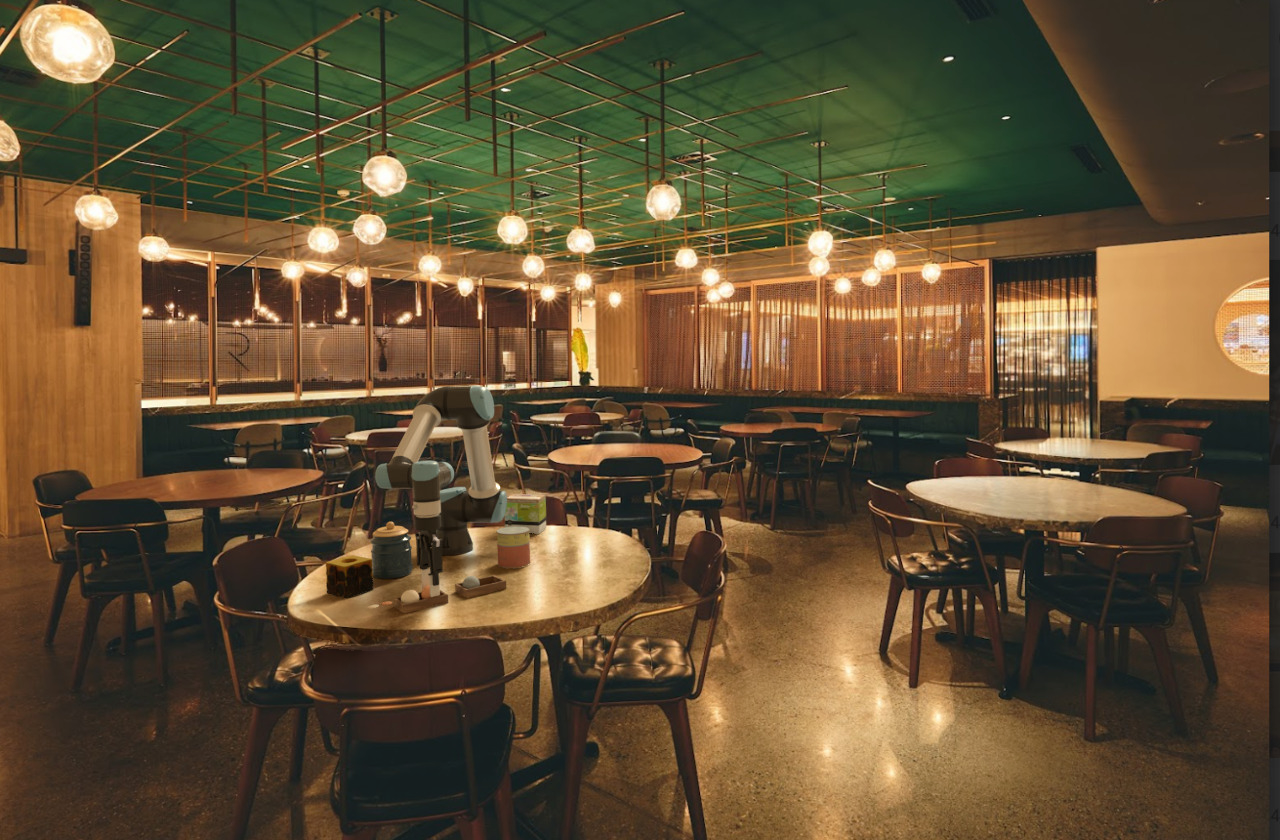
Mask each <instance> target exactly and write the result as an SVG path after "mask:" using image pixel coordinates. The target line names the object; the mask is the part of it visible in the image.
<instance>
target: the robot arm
mask: <svg viewBox="0 0 1280 840" xmlns="http://www.w3.org/2000/svg"><path fill="white" fill-rule="evenodd" d="M494 416H495V402H494V399H493V395H492V392H491V391H490V390H489V389H488V388H487V387H486V386H480V385H479V386H478V385H471V386H469V385H468V386H463V385H462V386H459V385H458V386H441V387H438V388H435V389H433V390H431V391H429V392H428V393H427V394H425V396H423V397H422V398H421V399H420V400H419V401H418V403H417V404H416V405H415V406H414V408H413V411H412V419H411V421H410V423H409V425H408V426H407V429H406V431H405V432H404V435H403V437H402V439H401V440H400V442H399V445H398V446H397V448H396V450H395V452H394V453H393V456H391V457H392V458H391V459H390V461H389V463H381V464H379V465H378V466H377V467H376V470H375V474H374V475H375V476H374V478H375V482H376V485H377V486H378V488H380V489H389V490H390V489H391V490H399V489H400V490H401V489H402V490H404V489H405V490H406V489H410V490H411V489H412V498H413V499H412V500H413V501H412V502H413V505H412V506H411V508H412V509H413V515H414V517H413V525H414V527H413V528H414V529H415V530H417V531H419V532H415V533H414V535H415V541H416V542H415V544H416V545H415V546H416V547H415V548H416V566H417V567H419V569H420V579H421V580H420V583H421V591H422V590H423V589H424V588H425V587H426V586H428V585H430V597H434V596H438V595H440V590H441V589H440V574H441V573H443V572H444V567H443V565H444V564H443V556H453V555H454V556H455V555H461V554H465V553H466V554H467V553H468V552H470V551H472V550H473V549H474V542H473V540H472V537H471V535H470V531H469V529H468V523H472V524H473V523H476V524H477V523H483V524H484V523H489V524H492V523H500V522H502V521H503V520H504V519H505V511H506V505H507V497H508V494H507V492H506V490H501V486H500V484H499V483H498V482H496V478H495V474H494V472H495V471H494V467H493V460H492V458H493V457H492V452H491V451H492V450H491V446H490V439H489V433H488V426H489V425H490V423H491V420H492V419H493V418H494ZM443 421H456V427H457V428H458V429H460V430H461V431H462V439H463V442H464V450H465V454H466V461H467V467H468V471H469V472H468V473H469V480H470V487H469V488H468V489H467V488H466V486H456V487H455V486H454V487H451V488H450V487H449V488H446V487H447V486H448V485H449V484H451V482H453V480H454V477H455V471H454V468H453V466H452V465H451V464H450V463H448V462H446V461H436V460H421V461H419V460H420V458H421V456H422V454H423V452H424V450H425V448H426V445H427V444H428V442H429V440H430V437H431V436H432V434H433V431H434V429H435V428H436V427H438V426H439V425H440V424H441V422H443ZM442 488H445V489H442Z"/></svg>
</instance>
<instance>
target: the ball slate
mask: <svg viewBox="0 0 1280 840" xmlns="http://www.w3.org/2000/svg"><path fill="white" fill-rule="evenodd" d="M478 579H479V578H477V576H474V575H469V576H466V577H465V578H464V579H463V580H462V581H463V587H464V588H466V589H471V588H475V587H479V585H480V583H479V580H478Z"/></svg>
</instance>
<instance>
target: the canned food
mask: <svg viewBox="0 0 1280 840" xmlns="http://www.w3.org/2000/svg"><path fill="white" fill-rule="evenodd" d="M529 530H530V529H529V528H528V527H523V526H511V527H505V526H504V527H501V528H498V529H497V530H496V542H497V543H496V544H497V547H496V549H497V566H498V567H500V568H503V569H508V568H513V569H519V568H518V567H521V568H523V567H522V566H525V567H527V566H526V565H528V564H529V565H531V546H530V545H531V544H530V543H531V540H530V538H531V537H530V534H529ZM529 565H528V566H529Z"/></svg>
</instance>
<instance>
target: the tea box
mask: <svg viewBox="0 0 1280 840" xmlns="http://www.w3.org/2000/svg"><path fill="white" fill-rule="evenodd" d="M546 500H547V497H546V494H523V493H522V494H519V493H511V494H510V495H509V496H508V495H507V505H506V511H505V515H504V527H511V526H523V527H528V528H529V529H530V530H529V533H532V534H531V535H533V533H534V535H540V534H541V533H543V532H544V531H545V530H546V528H547V506H546V505H547V504H546V503H547V501H546ZM543 530H544V531H543ZM539 533H540V534H539Z"/></svg>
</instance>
